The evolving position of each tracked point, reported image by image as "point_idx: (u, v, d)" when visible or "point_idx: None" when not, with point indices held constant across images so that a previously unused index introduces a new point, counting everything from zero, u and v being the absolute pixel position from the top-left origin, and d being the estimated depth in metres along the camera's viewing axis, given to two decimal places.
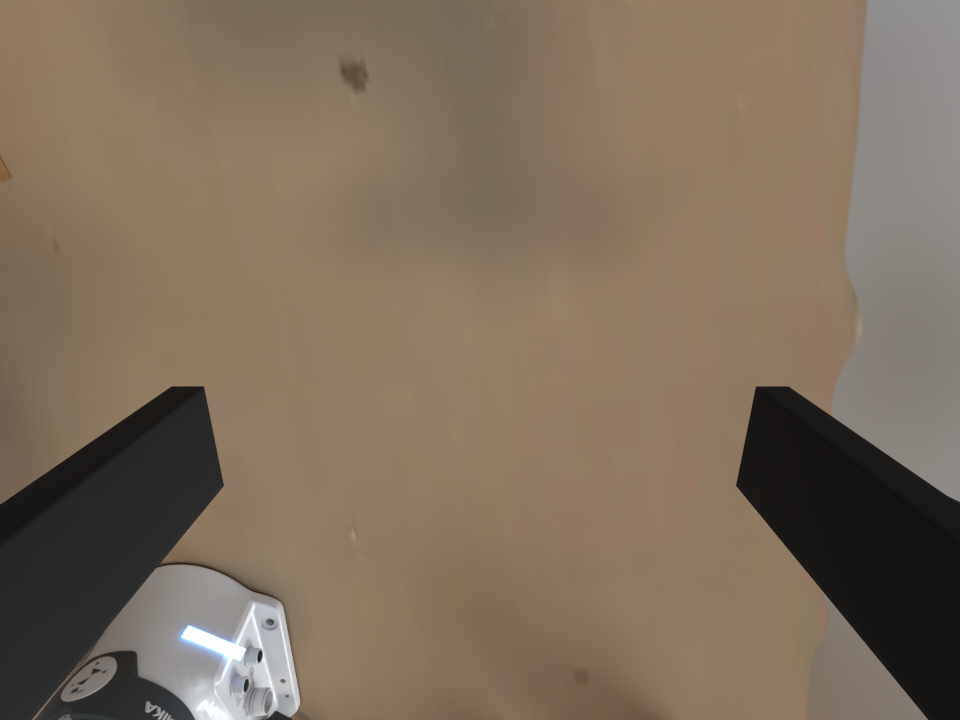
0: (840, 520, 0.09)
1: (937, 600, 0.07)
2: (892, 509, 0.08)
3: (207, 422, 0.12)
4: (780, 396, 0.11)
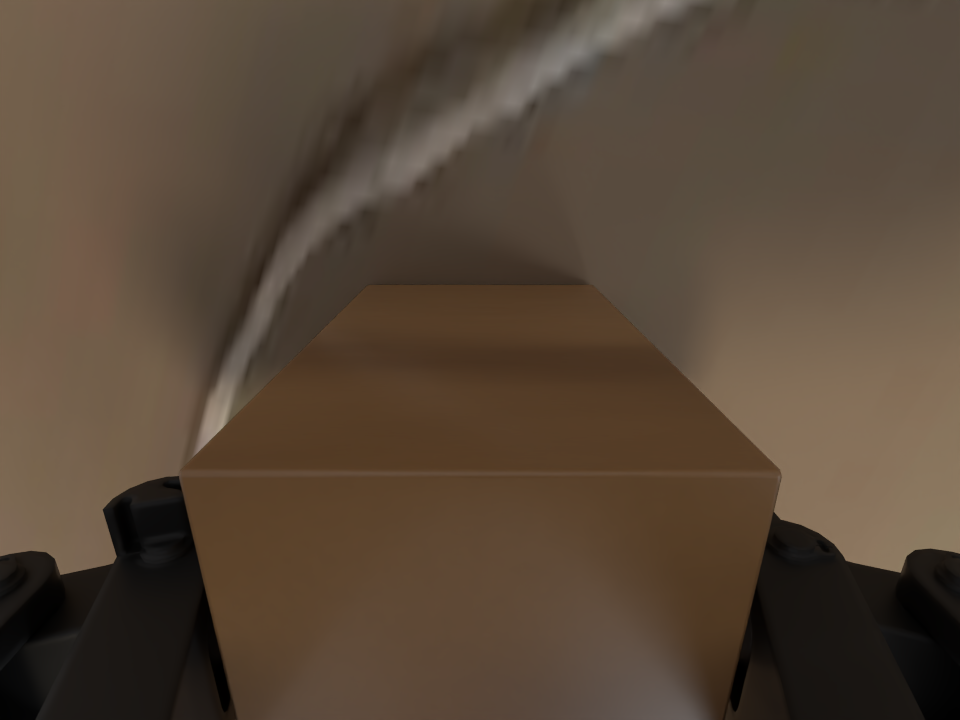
0: None
1: None
2: None
3: None
4: None
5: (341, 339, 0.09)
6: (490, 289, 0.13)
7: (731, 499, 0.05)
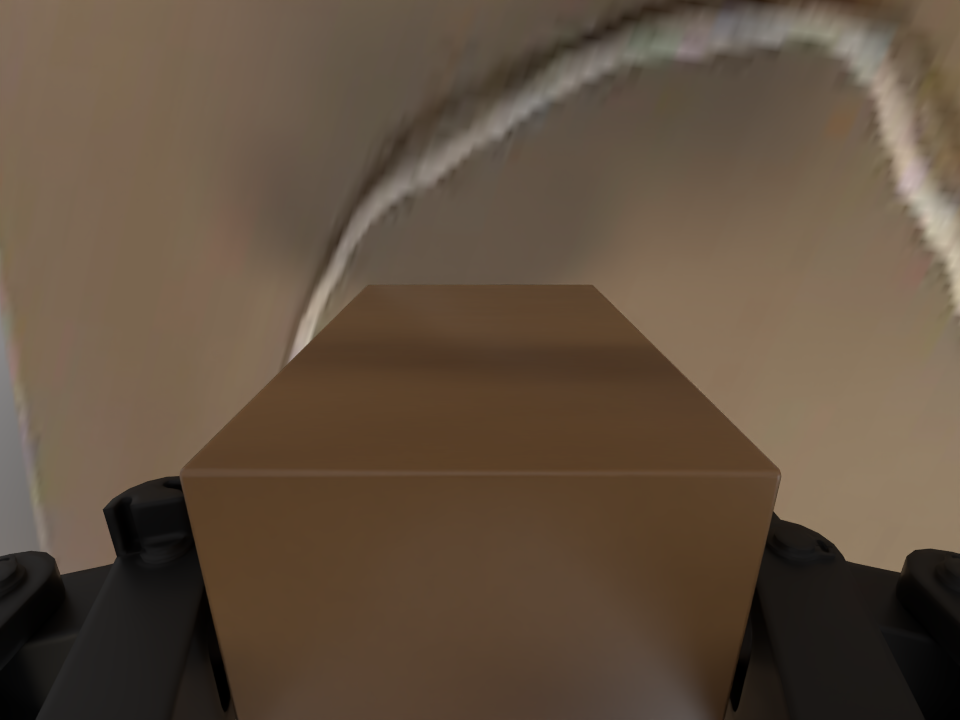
0: None
1: None
2: None
3: None
4: None
5: (341, 339, 0.09)
6: (490, 289, 0.13)
7: (730, 499, 0.05)
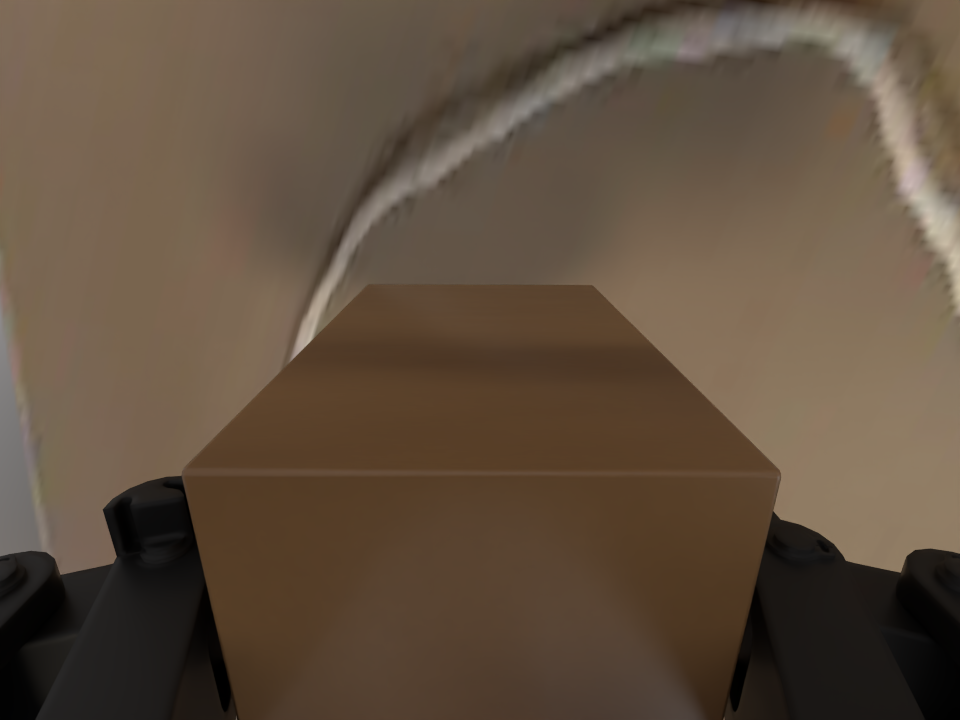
0: None
1: None
2: None
3: None
4: None
5: (342, 339, 0.09)
6: (490, 289, 0.13)
7: (729, 498, 0.05)
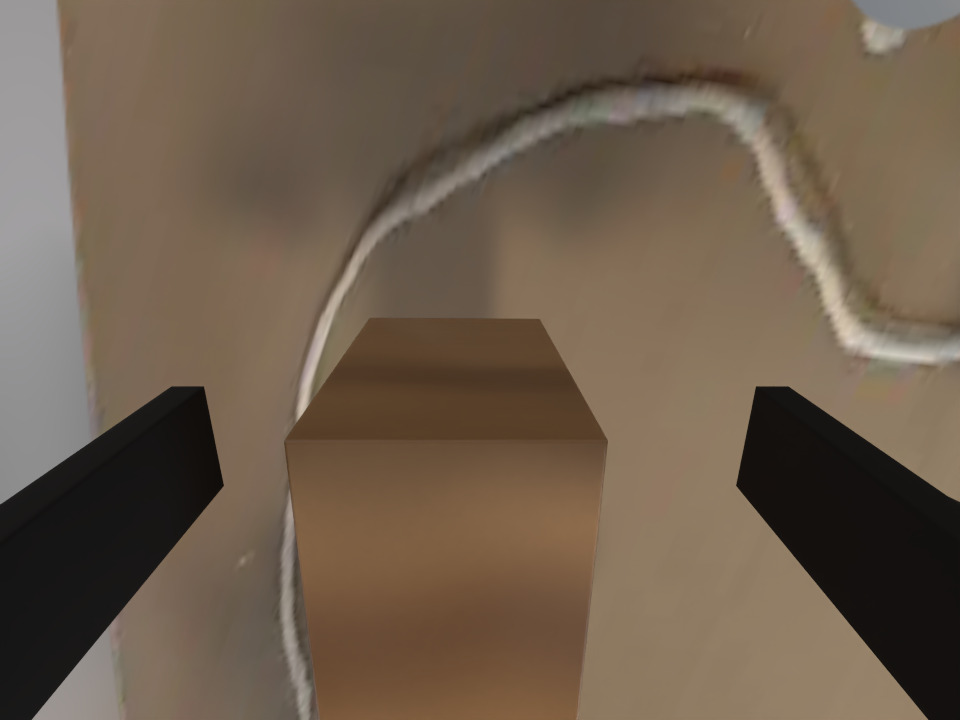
0: (840, 520, 0.09)
1: (937, 600, 0.07)
2: (892, 509, 0.08)
3: (207, 422, 0.12)
4: (780, 396, 0.11)
5: (358, 362, 0.13)
6: (462, 322, 0.17)
7: (581, 454, 0.10)
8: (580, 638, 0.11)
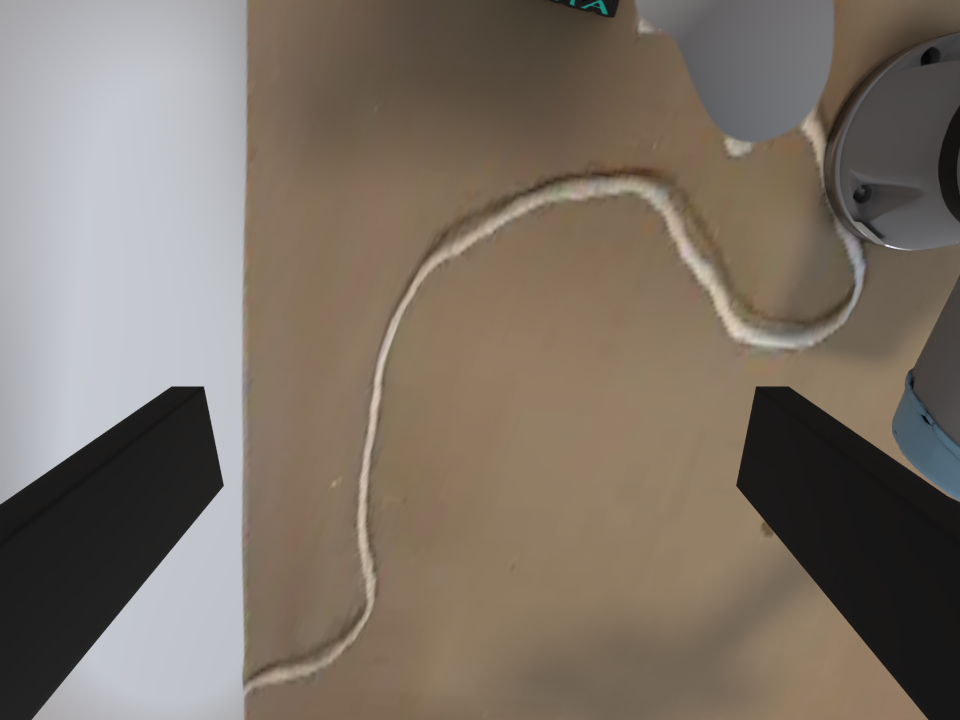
0: (840, 520, 0.09)
1: (937, 600, 0.07)
2: (892, 509, 0.08)
3: (207, 422, 0.12)
4: (780, 396, 0.11)
5: None
6: None
7: None
8: None
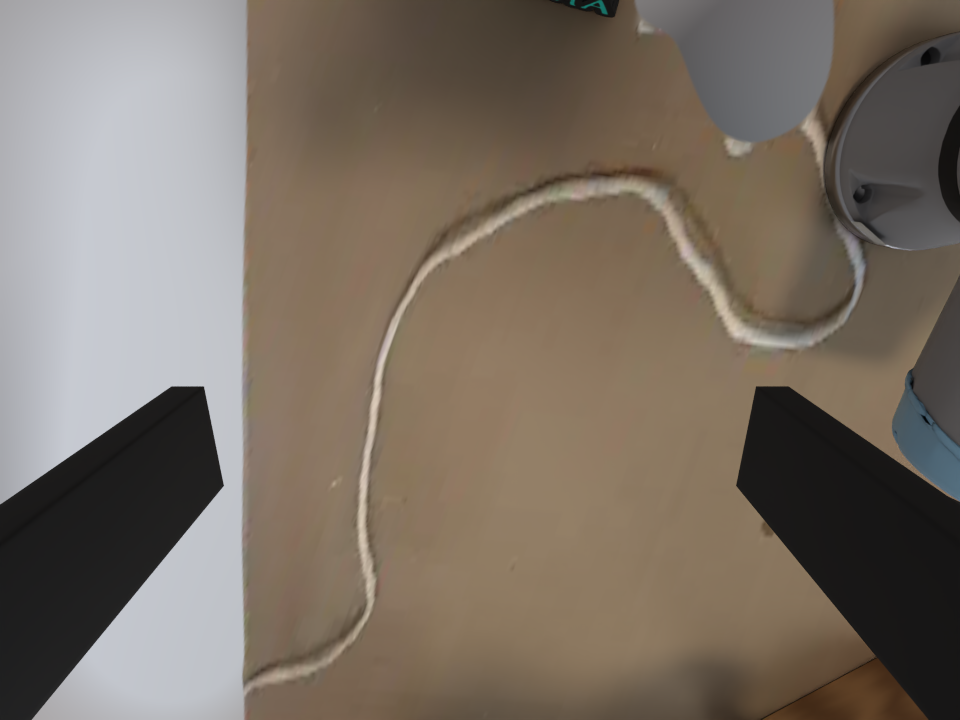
0: (840, 520, 0.09)
1: (937, 600, 0.07)
2: (892, 509, 0.08)
3: (207, 422, 0.12)
4: (780, 396, 0.11)
5: None
6: None
7: None
8: None
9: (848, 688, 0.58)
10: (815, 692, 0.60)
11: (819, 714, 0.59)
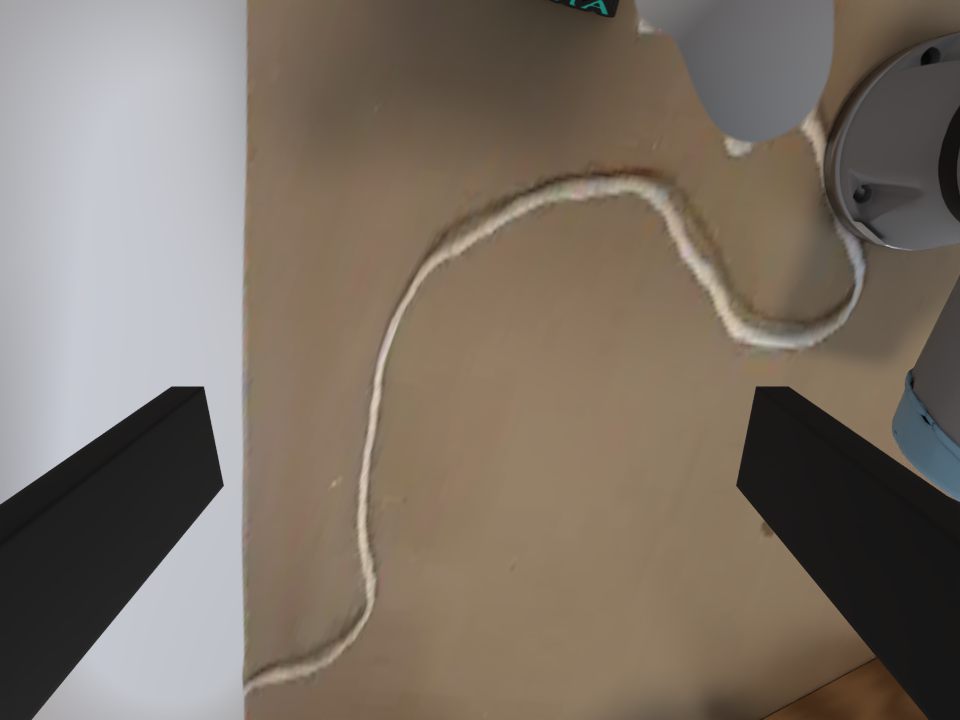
0: (840, 520, 0.09)
1: (937, 600, 0.07)
2: (892, 509, 0.08)
3: (207, 422, 0.12)
4: (780, 396, 0.11)
5: None
6: None
7: None
8: None
9: (848, 688, 0.58)
10: (815, 692, 0.60)
11: (819, 714, 0.59)
